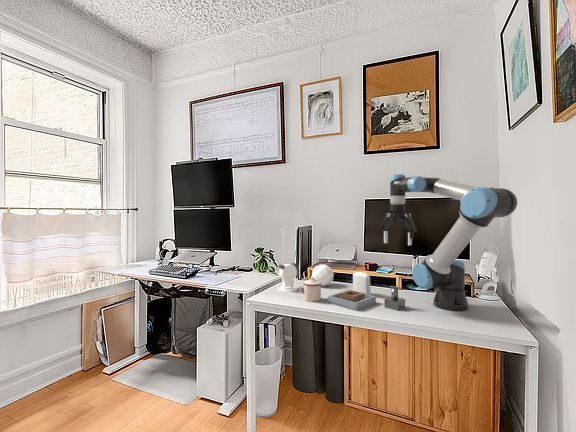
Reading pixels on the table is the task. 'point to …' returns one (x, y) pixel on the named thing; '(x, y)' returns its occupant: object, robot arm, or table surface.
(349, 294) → the walnut ring
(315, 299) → the teacup with lid
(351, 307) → the slate tray
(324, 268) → the geodesic sphere
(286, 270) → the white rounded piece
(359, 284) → the photo printer
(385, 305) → the metal stake
